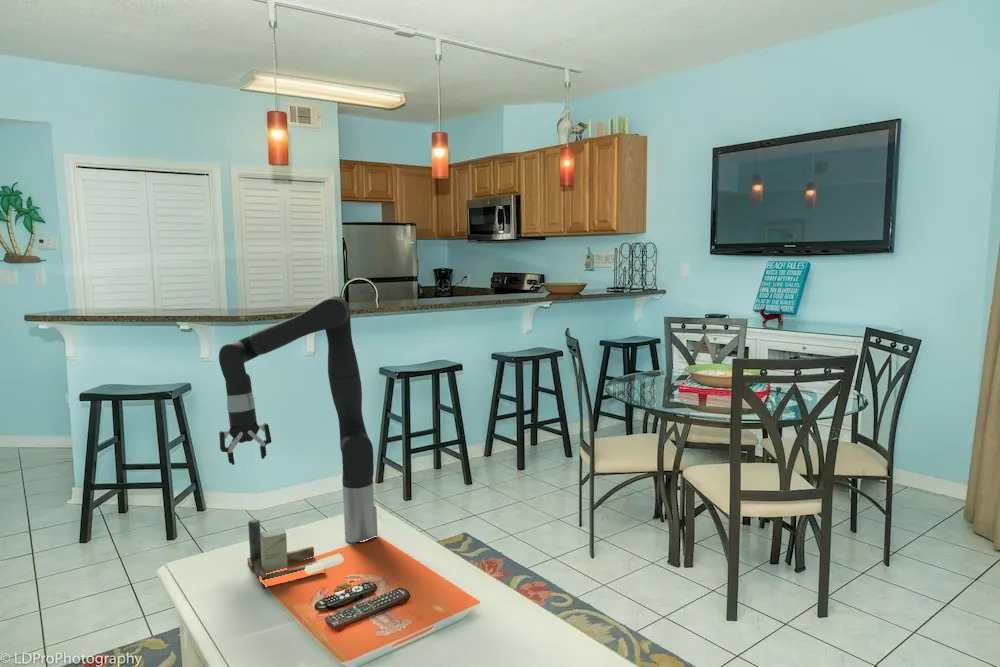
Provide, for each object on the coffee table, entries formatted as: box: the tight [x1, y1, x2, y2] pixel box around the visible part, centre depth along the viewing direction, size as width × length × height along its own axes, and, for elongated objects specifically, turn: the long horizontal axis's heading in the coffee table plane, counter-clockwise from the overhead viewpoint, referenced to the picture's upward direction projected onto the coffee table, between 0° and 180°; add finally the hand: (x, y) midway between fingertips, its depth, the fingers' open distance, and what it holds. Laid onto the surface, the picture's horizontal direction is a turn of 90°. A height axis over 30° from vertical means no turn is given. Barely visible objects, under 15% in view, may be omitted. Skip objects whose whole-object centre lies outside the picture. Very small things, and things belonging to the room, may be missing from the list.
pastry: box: [333, 579, 356, 592], centre depth 163 cm, size 9×7×4 cm
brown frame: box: [247, 519, 315, 589], centre depth 181 cm, size 17×18×12 cm
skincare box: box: [260, 528, 289, 573], centre depth 176 cm, size 6×4×12 cm
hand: (248, 461), depth 195 cm, fingers open, 8 cm apart
